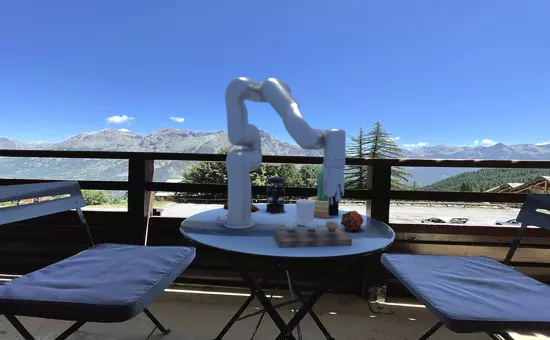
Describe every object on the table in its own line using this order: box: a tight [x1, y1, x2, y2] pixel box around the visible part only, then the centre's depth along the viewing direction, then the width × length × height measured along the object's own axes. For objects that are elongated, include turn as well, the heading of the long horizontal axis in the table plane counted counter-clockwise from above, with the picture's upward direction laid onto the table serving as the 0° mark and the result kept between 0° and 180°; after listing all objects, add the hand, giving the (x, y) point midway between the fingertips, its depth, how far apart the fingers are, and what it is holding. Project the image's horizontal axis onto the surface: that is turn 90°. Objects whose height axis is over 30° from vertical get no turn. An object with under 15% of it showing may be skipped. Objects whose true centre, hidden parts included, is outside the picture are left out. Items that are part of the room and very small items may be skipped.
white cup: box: [295, 199, 315, 227], centre depth 140 cm, size 8×8×10 cm
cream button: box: [304, 221, 319, 233], centre depth 116 cm, size 4×4×3 cm
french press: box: [265, 165, 285, 214], centre depth 163 cm, size 12×9×23 cm
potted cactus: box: [307, 163, 341, 218], centre depth 157 cm, size 15×15×25 cm
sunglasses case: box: [223, 201, 260, 213], centre depth 169 cm, size 18×7×7 cm
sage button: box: [284, 221, 298, 233], centre depth 115 cm, size 4×4×3 cm
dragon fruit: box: [340, 210, 364, 232], centre depth 132 cm, size 8×8×12 cm
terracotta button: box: [325, 220, 339, 232], centre depth 117 cm, size 4×4×3 cm
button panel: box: [273, 228, 353, 248], centre depth 116 cm, size 25×13×2 cm, turn 99°
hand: (333, 215), depth 117 cm, fingers closed
